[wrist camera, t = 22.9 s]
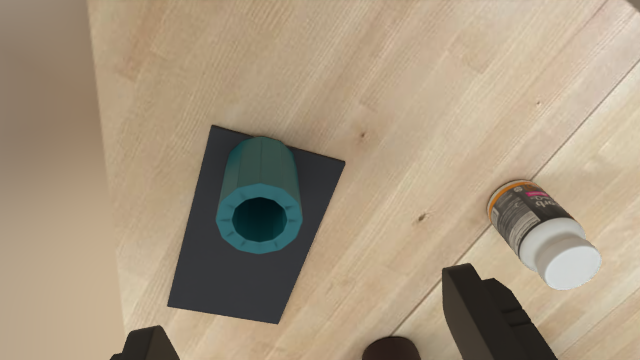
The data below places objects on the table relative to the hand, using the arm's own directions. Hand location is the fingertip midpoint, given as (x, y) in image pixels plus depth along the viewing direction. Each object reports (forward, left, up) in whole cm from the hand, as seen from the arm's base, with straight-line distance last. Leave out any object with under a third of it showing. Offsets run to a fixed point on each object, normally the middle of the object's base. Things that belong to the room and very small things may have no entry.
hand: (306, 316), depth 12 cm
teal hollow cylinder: (+1, -8, -25) cm, 26 cm away
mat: (+2, -16, -25) cm, 30 cm away
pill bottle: (+26, -5, -25) cm, 36 cm away
